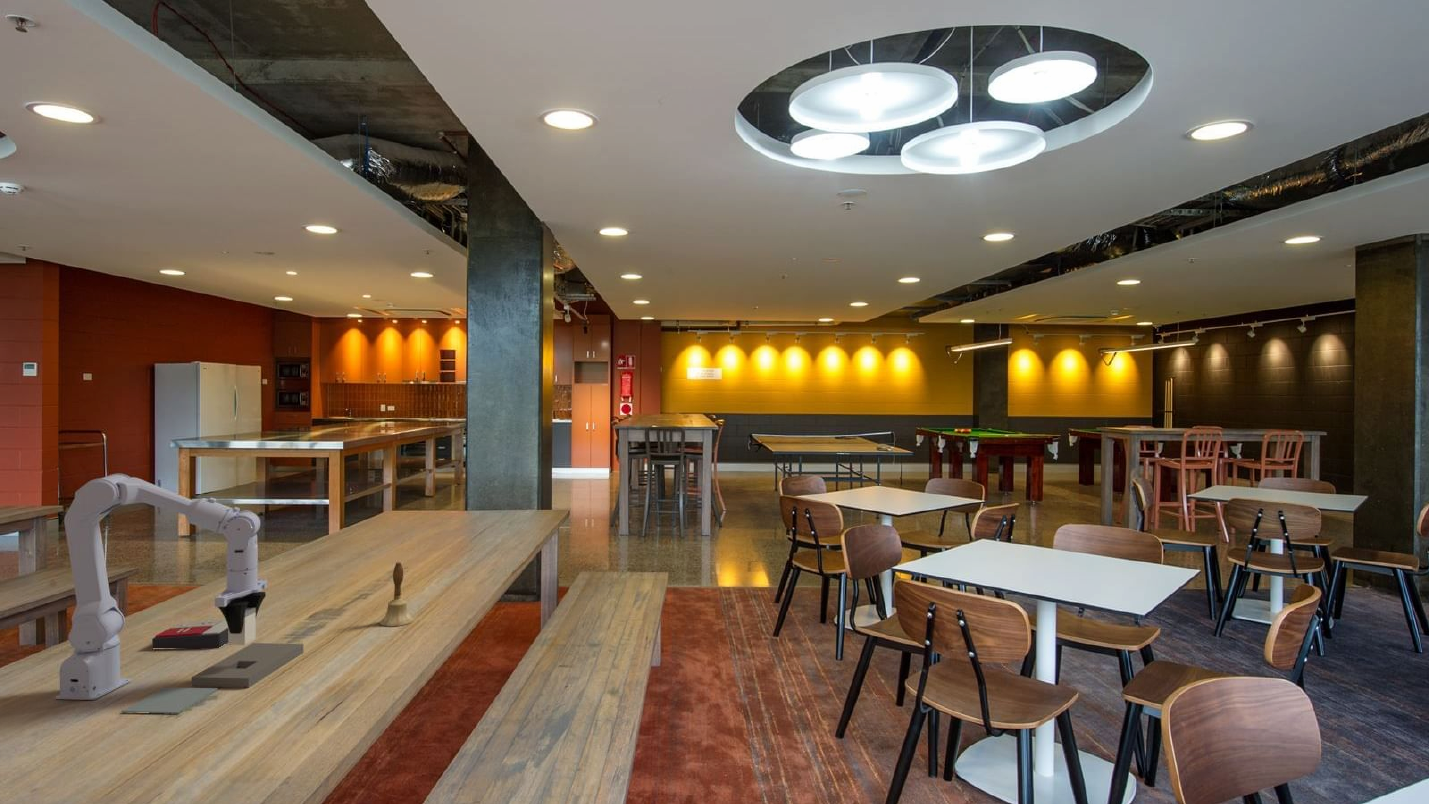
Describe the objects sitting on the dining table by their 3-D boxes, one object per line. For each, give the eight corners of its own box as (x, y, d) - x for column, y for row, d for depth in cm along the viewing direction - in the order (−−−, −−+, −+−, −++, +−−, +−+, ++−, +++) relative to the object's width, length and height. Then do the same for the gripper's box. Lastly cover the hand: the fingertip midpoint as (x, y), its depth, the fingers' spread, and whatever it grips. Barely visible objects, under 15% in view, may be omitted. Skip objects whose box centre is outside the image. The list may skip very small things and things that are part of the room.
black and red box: (179, 620, 183) (243, 616, 185) (180, 637, 183) (243, 633, 185) (150, 636, 172) (218, 631, 174) (151, 653, 172) (219, 649, 174)
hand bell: (404, 615, 201) (404, 557, 200) (419, 621, 195) (419, 562, 195) (374, 622, 194) (374, 562, 194) (389, 629, 189) (389, 568, 189)
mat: (178, 714, 139) (178, 712, 139) (121, 713, 139) (121, 711, 139) (217, 690, 150) (217, 688, 150) (164, 689, 150) (164, 687, 150)
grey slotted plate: (248, 687, 152) (248, 678, 152) (191, 686, 152) (191, 677, 152) (303, 652, 172) (303, 644, 172) (252, 651, 172) (252, 643, 172)
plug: (244, 644, 157) (244, 612, 157) (228, 644, 157) (228, 612, 157) (255, 639, 161) (255, 607, 160) (239, 638, 161) (239, 607, 160)
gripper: (238, 577, 151) (238, 641, 151) (280, 560, 166) (280, 619, 166) (204, 576, 151) (204, 641, 151) (249, 559, 166) (249, 618, 166)
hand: (242, 629), depth 159 cm, fingers closed on plug, 4 cm apart
